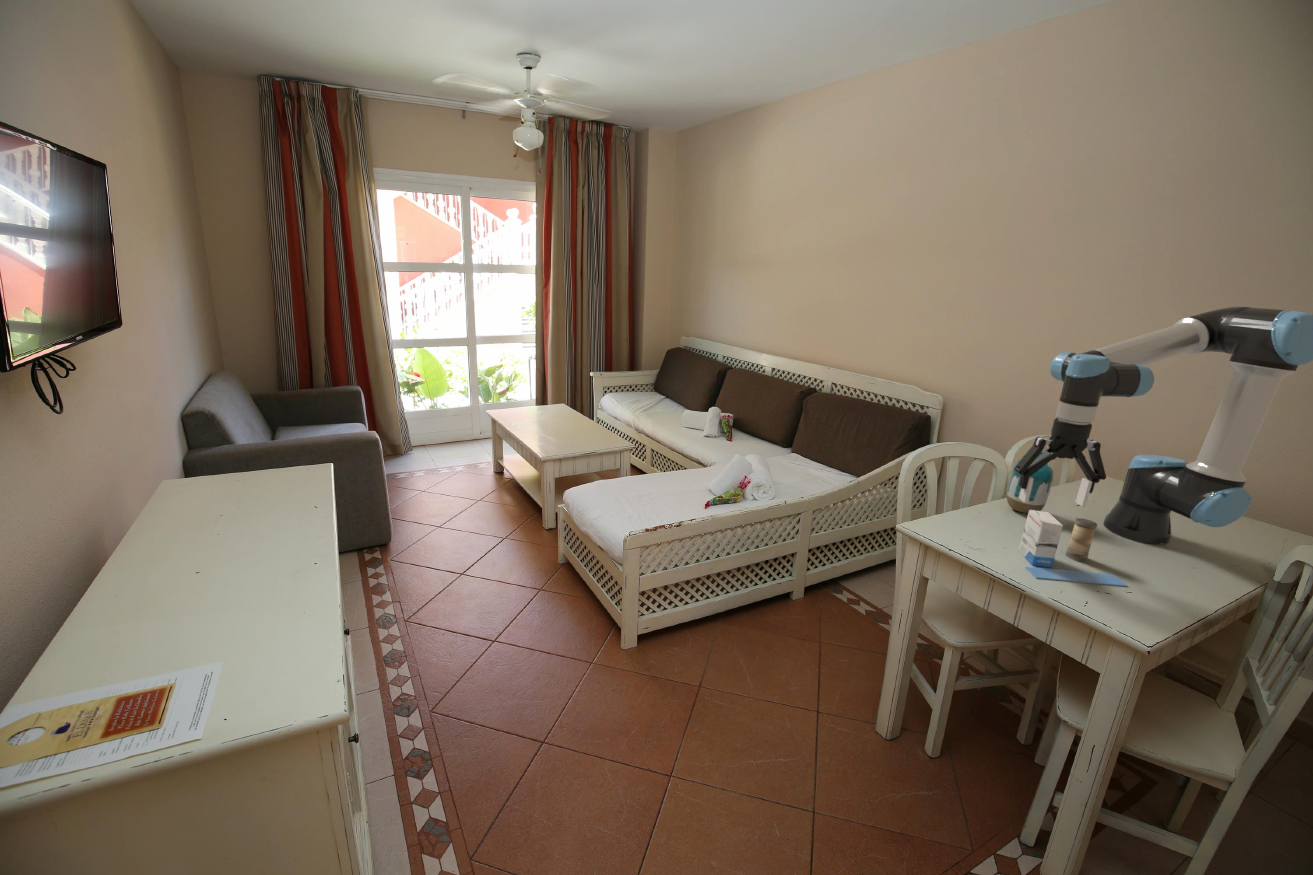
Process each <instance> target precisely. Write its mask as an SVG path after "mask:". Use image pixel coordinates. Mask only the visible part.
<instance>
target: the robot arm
mask: <svg viewBox="0 0 1313 875" xmlns="http://www.w3.org/2000/svg"><path fill="white" fill-rule="evenodd" d="M1204 352H1212V353H1224V354H1228V355H1230V358H1229V362H1228V363H1229V364H1230V366H1231V367H1232V368H1233V372H1232V374H1231V376H1230V379H1229V382H1228V384H1227V387H1226V389H1225V391H1224V393H1223V397H1222V398H1221V400H1220V403H1219V405H1218V408H1217V410H1216V413H1215V414H1214V417H1213V420H1212V422H1211V425H1210V427H1209V430H1208V432H1207V434H1206V436H1205V439H1204V441H1203V444H1202V446H1201V448H1200V451H1199V453H1198V455H1197V458H1196V460H1195V461H1191V462H1189V463H1188V461H1186V460H1184V459H1181V458H1176V457H1172V456H1165V455H1158V454H1157V455H1156V454H1138V455H1136V456H1134V457H1133V458H1132V460H1131V463H1130V465H1129V467H1128V468H1127V472H1126V476H1125V479H1124V483H1123V485H1122V489H1121V492H1120V495H1119V498H1118V501H1117V502H1116V504H1115V505H1114V506H1113V507H1112V509H1111V510H1110V511H1109V513H1108V514H1107V515H1106V516H1105V518H1104V521H1103V526H1104V527H1105V528H1106V529H1107V530H1108V531H1110V532H1112V533H1113V534H1116V535H1119V536H1121V537H1124V538H1126V539H1129V540H1132V541H1137V542H1140V543H1145V544H1153V545H1164V544H1168V543H1169V542H1170V540H1171V538H1172V526H1171V525H1172V524H1171V513H1172V512H1174V513H1176V514H1179V515H1180V516H1182V517H1185V518H1187V519H1189V520H1191V521H1192V522H1194V523H1199V524H1202V525H1204V526H1207V527H1210V528H1221V527H1226V526H1228V525H1231V524H1232V523H1234V522H1236V521H1238V520H1239V519H1240V518H1242V517H1243V515H1245V514H1246V512H1247V511H1248V509H1249V507H1250V505H1251V502H1252V497H1251V496H1252V495H1251V493H1250V492H1249V491H1248V490H1247V489H1245V488H1244V487H1245V484H1246V481H1247V478H1246V477H1245V475H1244V474H1243V472H1242V470H1243V468H1244V466H1245V463H1246V461H1247V459H1248V457H1249V455H1250V452H1251V450H1252V447H1253V445H1254V443H1255V441H1256V439H1257V436H1258V434H1259V432H1260V430H1261V427H1262V426H1263V423H1264V421H1265V418H1266V416H1267V414H1268V413H1269V410H1270V408H1271V406H1272V403H1273V401H1274V398H1275V396H1276V395H1277V392H1278V390H1279V388H1280V386H1281V383H1282V381H1283V379H1284V378H1285V377H1287V376H1290V375H1292V374H1295V373H1296V371H1297V370H1298V366H1302V365H1306V364H1308V363H1310V362H1312V361H1313V314H1312V313H1308V312H1303V311H1296V310H1293V309H1292V310H1290V309H1288V310H1287V309H1285V310H1284V309H1274V308H1273V309H1272V308H1262V307H1261V308H1259V307H1250V306H1231V307H1224V308H1218V309H1215V310H1210V311H1205V312H1202V313H1199V314H1195V315H1190V316H1188V317H1184V318H1181V319H1179V320H1178V321H1176V322H1175V323H1174V324H1173V325H1172V326H1169V327H1165V328H1162V329H1157V330H1155V331H1151V332H1148V333H1145V334H1141V335H1138V336H1134V337H1131V338H1128V339H1125V340H1122V341H1119V342H1116V343H1112V344H1109V345H1106V346H1103V347H1102V346H1101V347H1099V348H1095V349H1092V350H1089V351H1085V352H1081V353H1075V352H1060V353H1059V354H1057V355H1056V356H1054V358H1053V360H1052V361H1051V363H1050V366H1049V368H1050V369H1049V372H1050V375H1051V376H1052V377H1053V379H1055V380H1056V381H1060V382H1063V385H1062V389H1061V391H1060V396H1059V401H1058V403H1057V404H1058V405H1057V408H1056V412H1055V416H1056V418H1054V420H1053V423H1052V427H1051V433H1050V434H1051V435H1050V437H1049V438H1043V437H1041V436H1036V437H1035V439H1034V441H1033V444H1032V446H1031V447H1030V448H1029V449H1028V450H1029V451H1027V452H1026V453H1025V455H1023V457H1022V458H1021V459H1020V460H1019V461H1020V462H1019V461H1018V462H1019V463H1018V462H1017V463H1018V464H1017V463H1016V464H1017V465H1016V464H1015V465H1016V466H1015V465H1014V467H1015V468H1014V467H1013V469H1014V470H1015V471H1016V472H1017V473H1019V474H1021V478H1020V483H1019V487H1020V488H1021V491H1020V495H1019V499H1020V500H1022V501H1023V502H1024V503H1028V499H1029V495H1030V491H1031V487H1032V483H1033V479H1034V478H1032V477H1031V476H1032V475H1033V474H1034V473H1036V472H1037V471H1038V470H1039V469H1041V468H1042V467H1043V466H1045V465H1046V464H1047V463H1049V462H1051V461H1054V460H1056V459H1057V458H1059V459H1068V460H1069V459H1070V460H1073V459H1074V460H1075V461H1076V463H1077V464H1078V466H1079V468H1080V470H1081V471H1082V473H1083V474H1084V476H1085V477H1082V478H1081V481H1080V485H1079V487H1078V488H1079V489H1078V490H1077V491H1078V492H1077V496H1076V499H1075V503H1076V504H1078V505H1079V506H1080V507H1082V508H1085V507H1086V505H1087V503H1088V502H1087V501H1088V498H1089V496H1090V494H1092V493H1093V491H1094V488H1095V485H1096V484H1098V483H1100V481H1101V480H1103V481H1105V480H1106V478H1107V474H1106V471H1105V467H1104V466H1105V465H1104V462H1103V458H1102V455H1101V447H1102V445H1101V442H1098V441H1096V440H1094V439H1090V440H1089V441H1088V439H1089V438H1090V436H1091V431H1092V428H1093V424H1092V423H1093V422H1095V418H1096V414H1097V410H1098V407H1099V404H1100V403H1099V402H1100V399H1101V398H1102V397H1118V398H1122V397H1123V398H1125V397H1126V398H1132V397H1141V396H1144V395H1146V394H1147V393H1149V392H1150V391H1151V390H1152V388H1153V385H1154V382H1155V375H1154V371H1153V370H1152V369H1151V368H1149V367H1148V366H1146V365H1149V364H1152V363H1156V362H1160V361H1162V360H1166V359H1169V358H1172V357H1175V356H1180V355H1181V354H1182V355H1183V354H1185V355H1196V354H1200V353H1204ZM1045 448H1046V449H1045ZM1044 449H1045V450H1044ZM1086 449H1087V450H1088V455H1089V459H1090V462H1091V465H1090V463H1088V461H1087V458H1086V456H1085V455H1084V453H1083V451H1085V450H1086ZM1042 451H1044V452H1043V454H1042V455H1040V456H1039V457H1038V455H1039V454H1040V453H1041V452H1042ZM1037 457H1038V458H1037ZM1036 458H1037V459H1036ZM1091 466H1092V467H1091Z"/></svg>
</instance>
